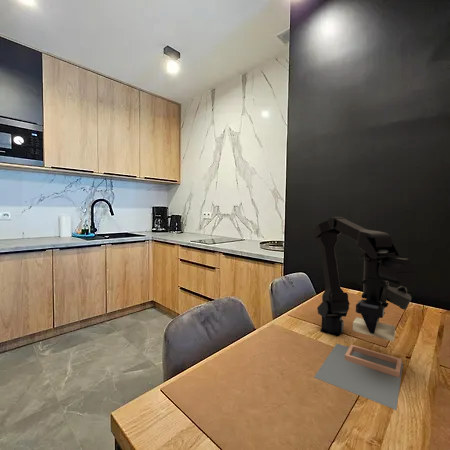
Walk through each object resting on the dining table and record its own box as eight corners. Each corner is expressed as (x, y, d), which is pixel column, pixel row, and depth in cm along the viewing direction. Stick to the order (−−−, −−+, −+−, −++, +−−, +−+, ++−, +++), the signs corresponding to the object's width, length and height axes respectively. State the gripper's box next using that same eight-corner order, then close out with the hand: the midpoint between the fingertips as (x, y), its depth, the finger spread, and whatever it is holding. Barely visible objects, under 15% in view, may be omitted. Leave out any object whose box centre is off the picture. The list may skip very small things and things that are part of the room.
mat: (313, 378, 67) (313, 377, 67) (336, 344, 84) (336, 343, 84) (396, 411, 56) (396, 409, 56) (403, 364, 73) (403, 363, 73)
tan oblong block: (395, 335, 72) (395, 326, 72) (393, 341, 68) (393, 332, 68) (356, 325, 78) (356, 317, 78) (352, 330, 75) (352, 322, 74)
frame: (344, 359, 75) (344, 355, 75) (350, 348, 81) (351, 344, 81) (399, 377, 67) (399, 372, 66) (401, 363, 73) (401, 359, 73)
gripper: (408, 289, 60) (405, 354, 61) (411, 274, 75) (409, 326, 76) (356, 281, 67) (354, 339, 68) (368, 269, 82) (367, 317, 83)
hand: (373, 330), depth 73 cm, fingers closed on tan oblong block, 5 cm apart
